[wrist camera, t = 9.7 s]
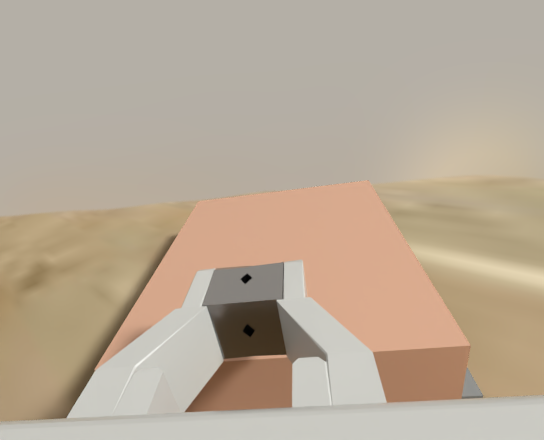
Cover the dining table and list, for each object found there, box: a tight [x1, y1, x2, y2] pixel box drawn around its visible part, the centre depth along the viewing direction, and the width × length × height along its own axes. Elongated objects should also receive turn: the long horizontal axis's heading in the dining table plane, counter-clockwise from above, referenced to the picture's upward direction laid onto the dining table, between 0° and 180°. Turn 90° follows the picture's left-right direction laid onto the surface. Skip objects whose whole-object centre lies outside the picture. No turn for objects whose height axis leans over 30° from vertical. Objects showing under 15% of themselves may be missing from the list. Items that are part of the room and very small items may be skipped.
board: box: [94, 180, 471, 412], centre depth 17 cm, size 3×12×14 cm
